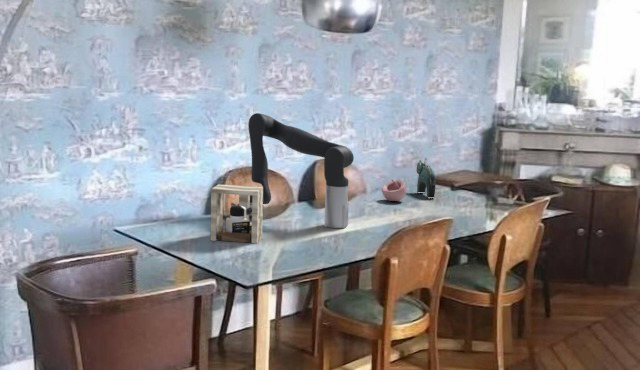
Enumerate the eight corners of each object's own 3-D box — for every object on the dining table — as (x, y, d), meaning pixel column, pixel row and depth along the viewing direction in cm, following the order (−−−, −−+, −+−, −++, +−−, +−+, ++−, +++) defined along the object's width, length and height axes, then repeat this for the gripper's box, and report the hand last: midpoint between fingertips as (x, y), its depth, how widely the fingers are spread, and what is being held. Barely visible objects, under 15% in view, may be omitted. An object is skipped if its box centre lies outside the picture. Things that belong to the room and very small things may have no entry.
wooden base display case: (230, 228, 278) (230, 191, 276) (259, 230, 277) (260, 193, 275) (218, 240, 260) (218, 200, 257) (249, 242, 259) (250, 202, 256)
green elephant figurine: (414, 192, 374) (416, 155, 370) (425, 192, 375) (427, 155, 372) (426, 199, 355) (428, 160, 351) (438, 199, 356) (440, 160, 352)
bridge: (217, 234, 270) (218, 184, 266) (262, 236, 268) (263, 186, 265) (210, 240, 260) (211, 189, 257) (256, 243, 258) (257, 191, 255)
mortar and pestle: (376, 200, 347) (377, 178, 345) (392, 198, 355) (393, 176, 353) (394, 205, 338) (395, 181, 336) (410, 202, 346) (411, 179, 344)
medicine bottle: (231, 240, 260) (232, 208, 258) (225, 235, 267) (225, 205, 265) (249, 238, 264) (250, 207, 262) (243, 234, 270) (243, 204, 268)
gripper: (234, 193, 288) (224, 201, 271) (268, 195, 286) (260, 203, 269) (234, 211, 289) (224, 220, 272) (267, 213, 288) (259, 222, 271)
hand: (242, 212), depth 271 cm, fingers closed on wooden base display case, 3 cm apart
